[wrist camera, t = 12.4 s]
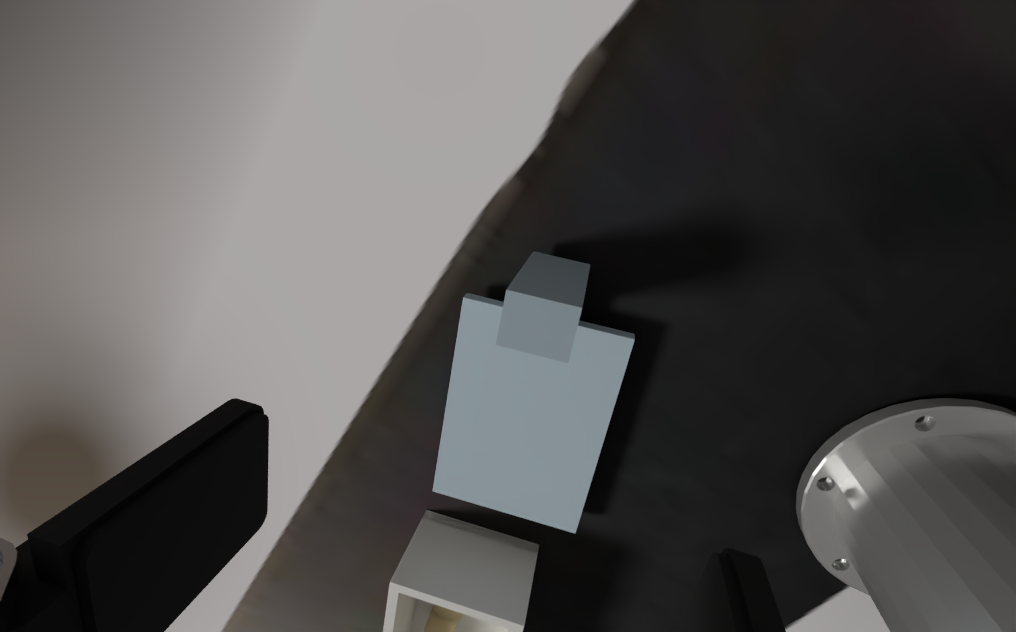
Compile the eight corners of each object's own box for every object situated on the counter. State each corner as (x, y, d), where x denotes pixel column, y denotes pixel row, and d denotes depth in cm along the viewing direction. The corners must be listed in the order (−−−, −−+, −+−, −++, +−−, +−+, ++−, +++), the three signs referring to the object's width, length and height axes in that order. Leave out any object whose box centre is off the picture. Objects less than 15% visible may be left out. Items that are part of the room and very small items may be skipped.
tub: (539, 544, 33) (524, 626, 28) (505, 662, 38) (487, 753, 32) (426, 509, 34) (389, 581, 29) (406, 628, 38) (371, 710, 33)
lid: (649, 273, 26) (664, 327, 18) (577, 513, 32) (566, 626, 24) (480, 234, 27) (430, 271, 20) (441, 473, 33) (391, 570, 26)
